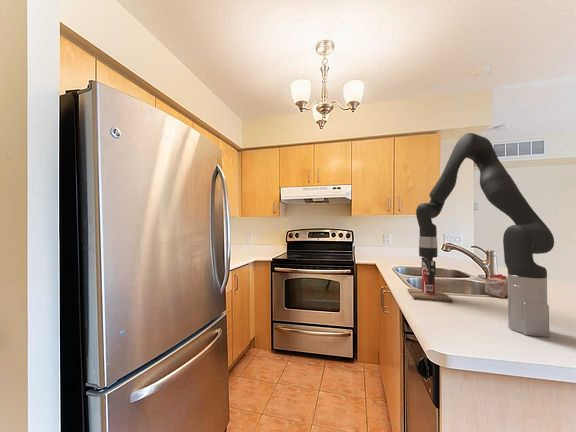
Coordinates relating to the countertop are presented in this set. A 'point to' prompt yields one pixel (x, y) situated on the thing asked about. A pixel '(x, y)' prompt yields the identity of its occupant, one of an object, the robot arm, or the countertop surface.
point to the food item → (497, 286)
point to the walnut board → (429, 296)
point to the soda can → (426, 287)
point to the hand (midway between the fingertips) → (428, 281)
